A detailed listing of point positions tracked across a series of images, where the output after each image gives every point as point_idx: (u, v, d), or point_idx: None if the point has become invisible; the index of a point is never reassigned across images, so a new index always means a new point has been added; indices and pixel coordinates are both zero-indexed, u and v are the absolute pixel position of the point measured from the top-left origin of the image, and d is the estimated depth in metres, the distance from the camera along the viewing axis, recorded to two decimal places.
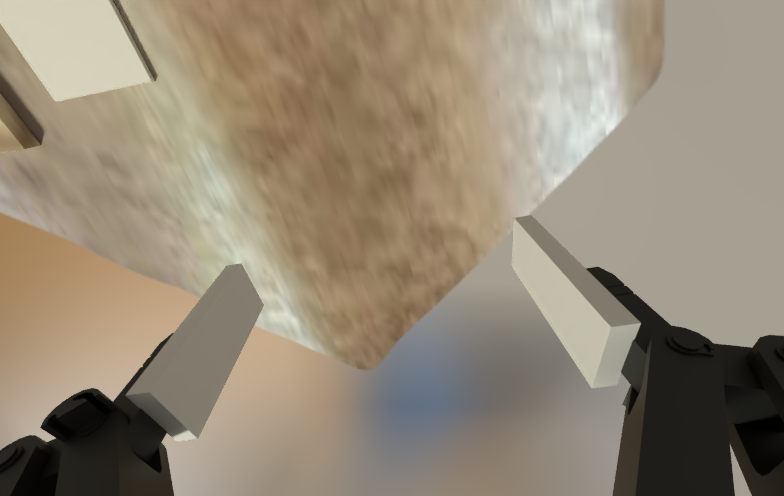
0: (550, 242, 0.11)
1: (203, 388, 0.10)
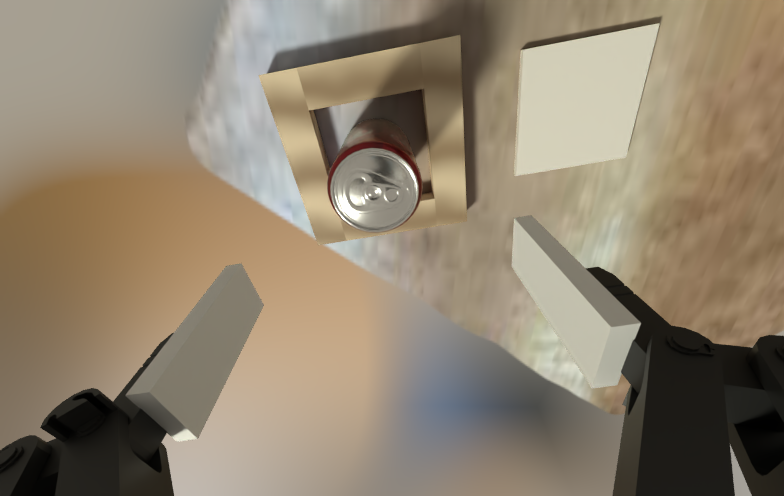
0: (550, 242, 0.11)
1: (203, 388, 0.10)
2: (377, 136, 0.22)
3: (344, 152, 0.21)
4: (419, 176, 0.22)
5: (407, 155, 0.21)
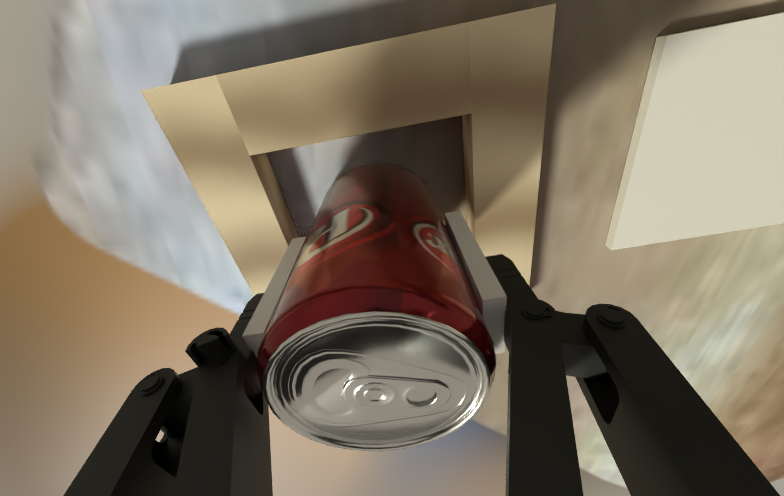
0: (465, 233, 0.13)
1: None
2: (383, 249, 0.09)
3: (293, 313, 0.07)
4: (493, 354, 0.08)
5: (466, 314, 0.08)
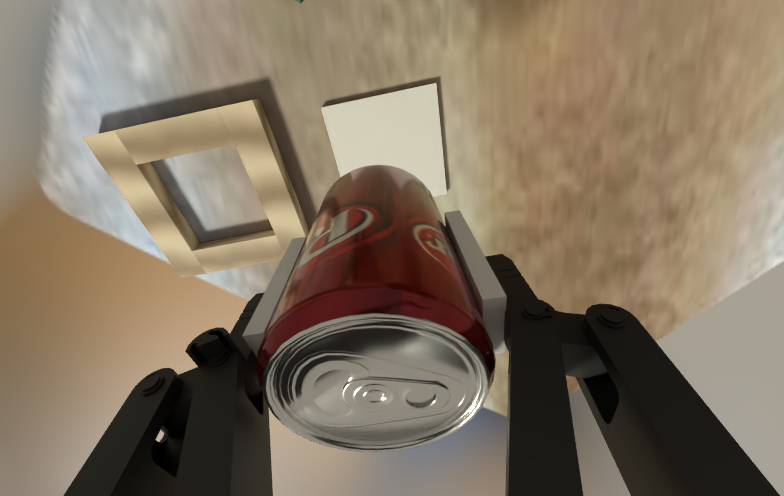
0: (465, 233, 0.13)
1: None
2: (383, 250, 0.09)
3: (292, 314, 0.07)
4: (492, 356, 0.08)
5: (466, 316, 0.08)
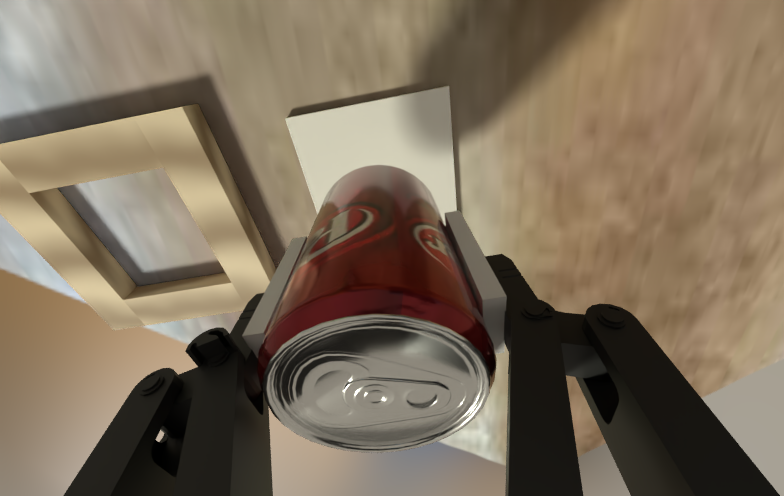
0: (465, 233, 0.13)
1: None
2: (383, 250, 0.09)
3: (293, 315, 0.07)
4: (493, 356, 0.08)
5: (467, 316, 0.08)
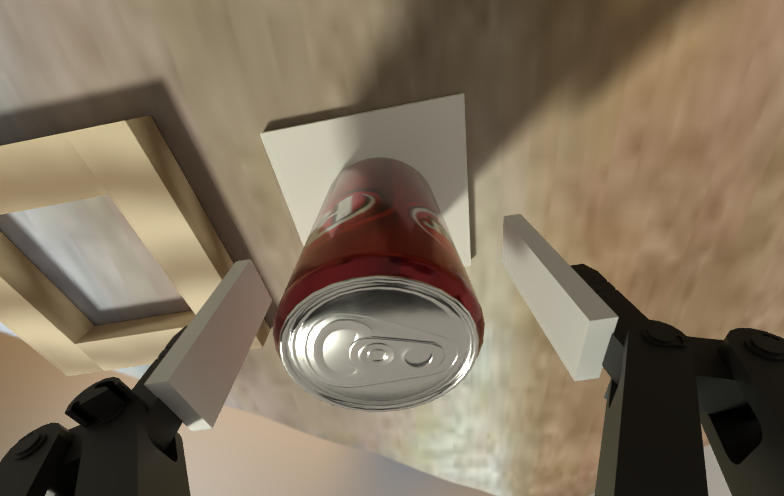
0: (537, 240, 0.11)
1: (217, 379, 0.11)
2: (384, 226, 0.10)
3: (306, 279, 0.09)
4: (481, 319, 0.10)
5: (457, 281, 0.09)
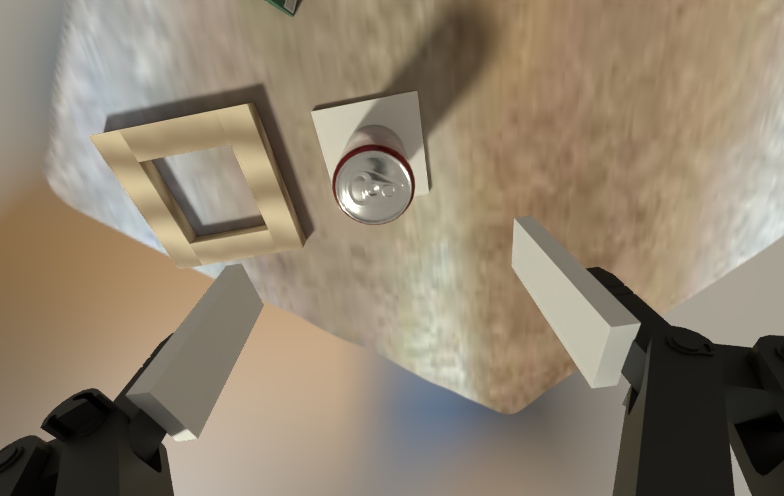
0: (550, 242, 0.11)
1: (203, 388, 0.10)
2: (375, 140, 0.25)
3: (347, 154, 0.24)
4: (412, 174, 0.25)
5: (401, 156, 0.24)
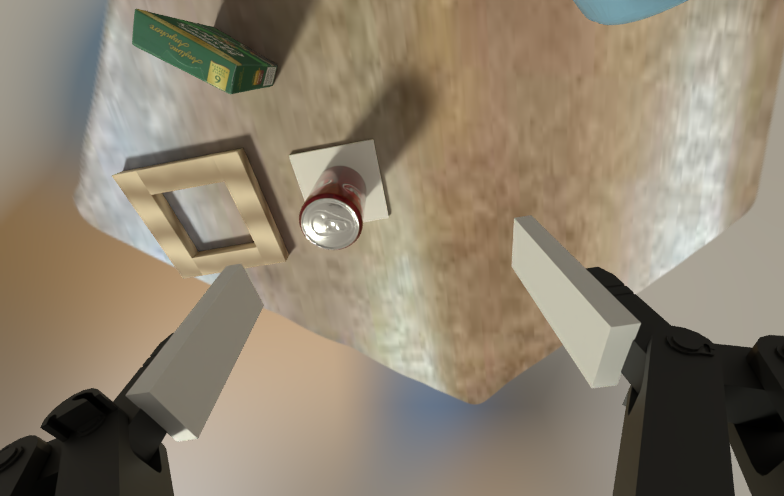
0: (550, 242, 0.11)
1: (203, 388, 0.10)
2: (331, 187, 0.33)
3: (309, 200, 0.32)
4: (359, 214, 0.33)
5: (350, 201, 0.32)
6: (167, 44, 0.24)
